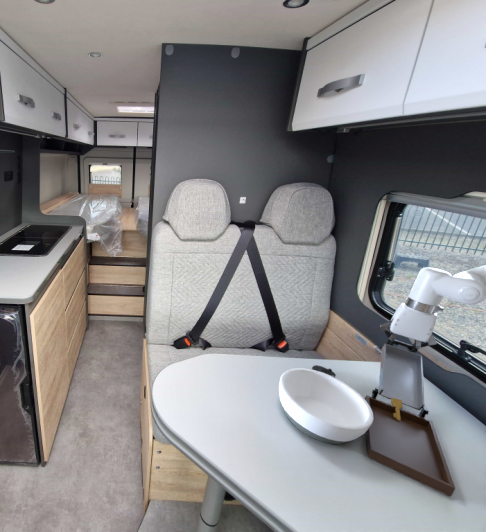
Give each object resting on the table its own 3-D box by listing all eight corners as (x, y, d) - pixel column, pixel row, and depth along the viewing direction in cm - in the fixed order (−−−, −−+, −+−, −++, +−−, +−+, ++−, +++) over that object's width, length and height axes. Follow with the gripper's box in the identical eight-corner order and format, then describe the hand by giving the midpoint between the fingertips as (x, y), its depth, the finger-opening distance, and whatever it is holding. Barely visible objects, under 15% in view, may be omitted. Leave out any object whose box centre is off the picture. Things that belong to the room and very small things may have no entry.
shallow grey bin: (382, 341, 108) (385, 336, 106) (417, 353, 103) (422, 347, 101) (378, 394, 94) (382, 388, 92) (419, 410, 89) (425, 405, 87)
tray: (363, 401, 96) (366, 394, 95) (428, 427, 88) (432, 421, 87) (367, 456, 77) (370, 449, 76) (450, 496, 69) (455, 488, 68)
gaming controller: (311, 365, 109) (328, 360, 106) (319, 378, 109) (337, 373, 106) (310, 380, 101) (329, 375, 98) (319, 394, 101) (338, 390, 98)
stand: (367, 399, 97) (373, 387, 95) (421, 421, 90) (428, 408, 88) (368, 403, 95) (374, 390, 94) (422, 425, 89) (429, 412, 87)
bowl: (278, 437, 80) (287, 412, 77) (269, 381, 101) (275, 360, 98) (377, 466, 75) (390, 441, 72) (346, 401, 95) (355, 379, 92)
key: (391, 398, 92) (391, 397, 92) (401, 400, 91) (401, 400, 91) (392, 418, 89) (393, 418, 89) (403, 421, 88) (404, 421, 88)
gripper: (453, 310, 98) (428, 357, 104) (386, 293, 106) (367, 338, 112) (460, 319, 92) (433, 369, 98) (389, 300, 100) (368, 347, 106)
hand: (398, 352), depth 105 cm, fingers closed on shallow grey bin, 5 cm apart
